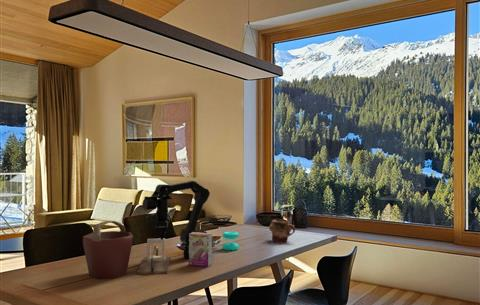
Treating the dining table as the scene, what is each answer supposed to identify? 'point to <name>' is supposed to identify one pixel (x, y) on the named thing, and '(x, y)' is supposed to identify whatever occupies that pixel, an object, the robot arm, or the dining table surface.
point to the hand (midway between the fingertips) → (162, 237)
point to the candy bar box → (200, 249)
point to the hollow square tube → (149, 241)
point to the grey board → (159, 266)
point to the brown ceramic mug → (281, 230)
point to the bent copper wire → (153, 257)
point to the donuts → (230, 245)
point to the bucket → (107, 251)
